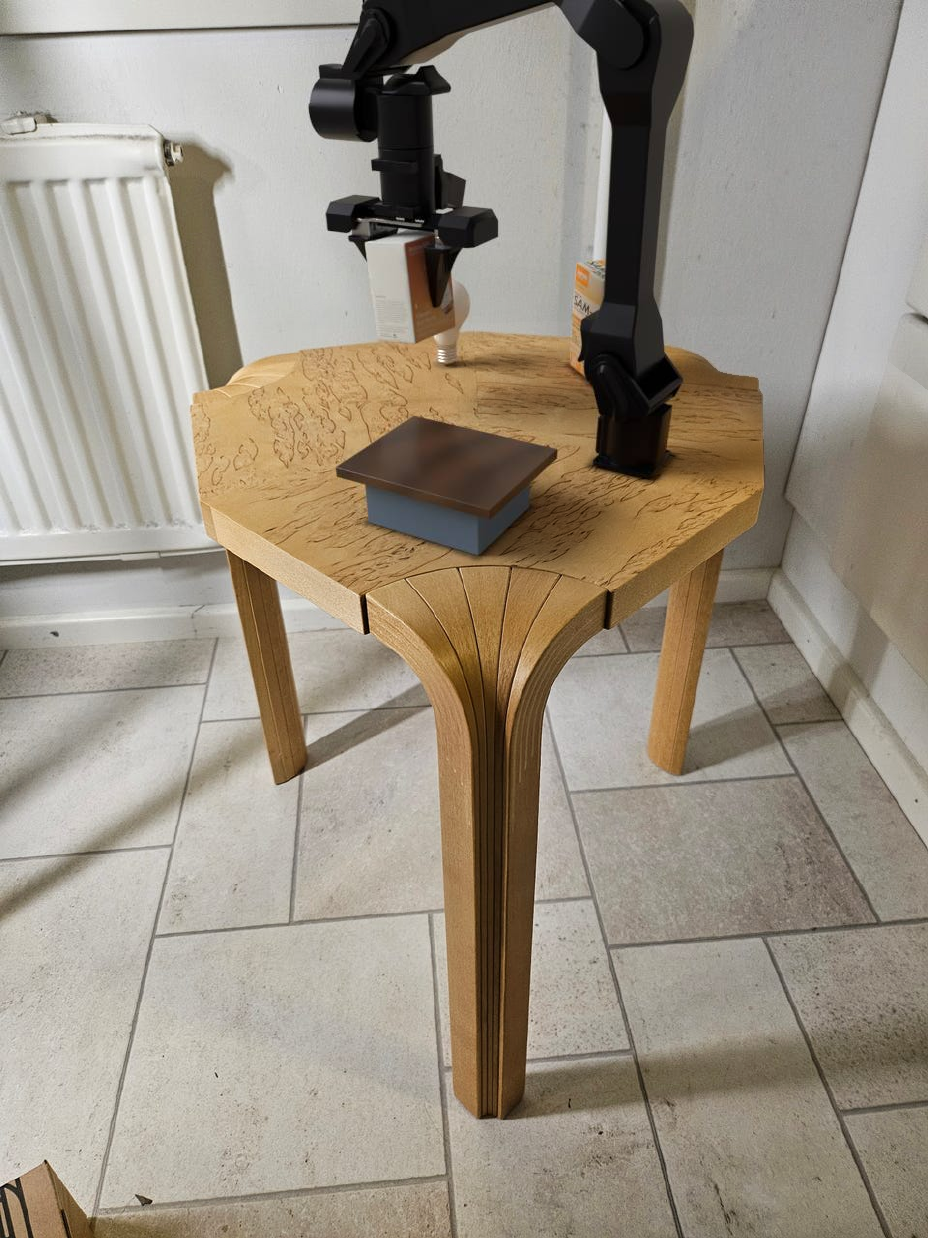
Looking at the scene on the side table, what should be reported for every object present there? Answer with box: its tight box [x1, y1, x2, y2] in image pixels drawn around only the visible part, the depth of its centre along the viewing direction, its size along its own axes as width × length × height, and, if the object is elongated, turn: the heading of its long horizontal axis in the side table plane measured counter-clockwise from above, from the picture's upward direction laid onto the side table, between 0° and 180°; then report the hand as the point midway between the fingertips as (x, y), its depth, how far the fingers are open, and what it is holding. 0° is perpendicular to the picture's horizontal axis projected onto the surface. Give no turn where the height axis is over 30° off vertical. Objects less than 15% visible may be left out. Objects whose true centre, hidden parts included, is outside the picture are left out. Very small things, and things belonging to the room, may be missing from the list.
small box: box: [365, 229, 456, 345], centre depth 95 cm, size 8×6×10 cm
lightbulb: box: [433, 278, 471, 366], centre depth 111 cm, size 6×6×11 cm
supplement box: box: [569, 259, 605, 378], centre depth 106 cm, size 8×5×13 cm, turn 17°
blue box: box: [364, 483, 531, 556], centre depth 80 cm, size 12×10×5 cm
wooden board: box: [335, 415, 559, 520], centre depth 79 cm, size 16×13×1 cm
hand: (414, 302), depth 96 cm, fingers closed on small box, 6 cm apart
